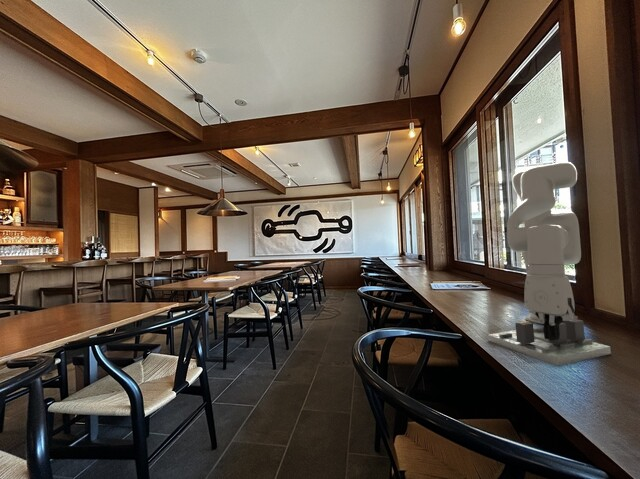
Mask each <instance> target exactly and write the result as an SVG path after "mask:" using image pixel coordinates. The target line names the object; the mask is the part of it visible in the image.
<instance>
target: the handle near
mask: <svg viewBox="0 0 640 479" xmlns="http://www.w3.org/2000/svg"><path fill="white" fill-rule="evenodd" d="M565 324H566V332H567V339H569V340H573V341H579V340H584V339H586V338H585V322H584V320H582V319H578V320H577V319H574V320H571V321H565Z"/></svg>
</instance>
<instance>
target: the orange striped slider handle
mask: <svg viewBox="0 0 640 479" xmlns="http://www.w3.org/2000/svg"><path fill="white" fill-rule="evenodd" d="M533 327H534V322H530V321H528V320H526V321H525V320H524V321H523V320H522V321H517V322H516V321H515V330H516V336H517V341H518V342H521V343H524V344H528V343H533V342H535V341H534V328H533Z"/></svg>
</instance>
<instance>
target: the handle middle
mask: <svg viewBox="0 0 640 479" xmlns="http://www.w3.org/2000/svg"><path fill="white" fill-rule="evenodd" d="M559 331H560V337H559V339H558V340H552V341H551V340H549V339H548V341H549V342H550V343H554V344H557V345H560V344H563V343H567V332H566V324H565V323H561V324H560V325H559Z"/></svg>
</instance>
